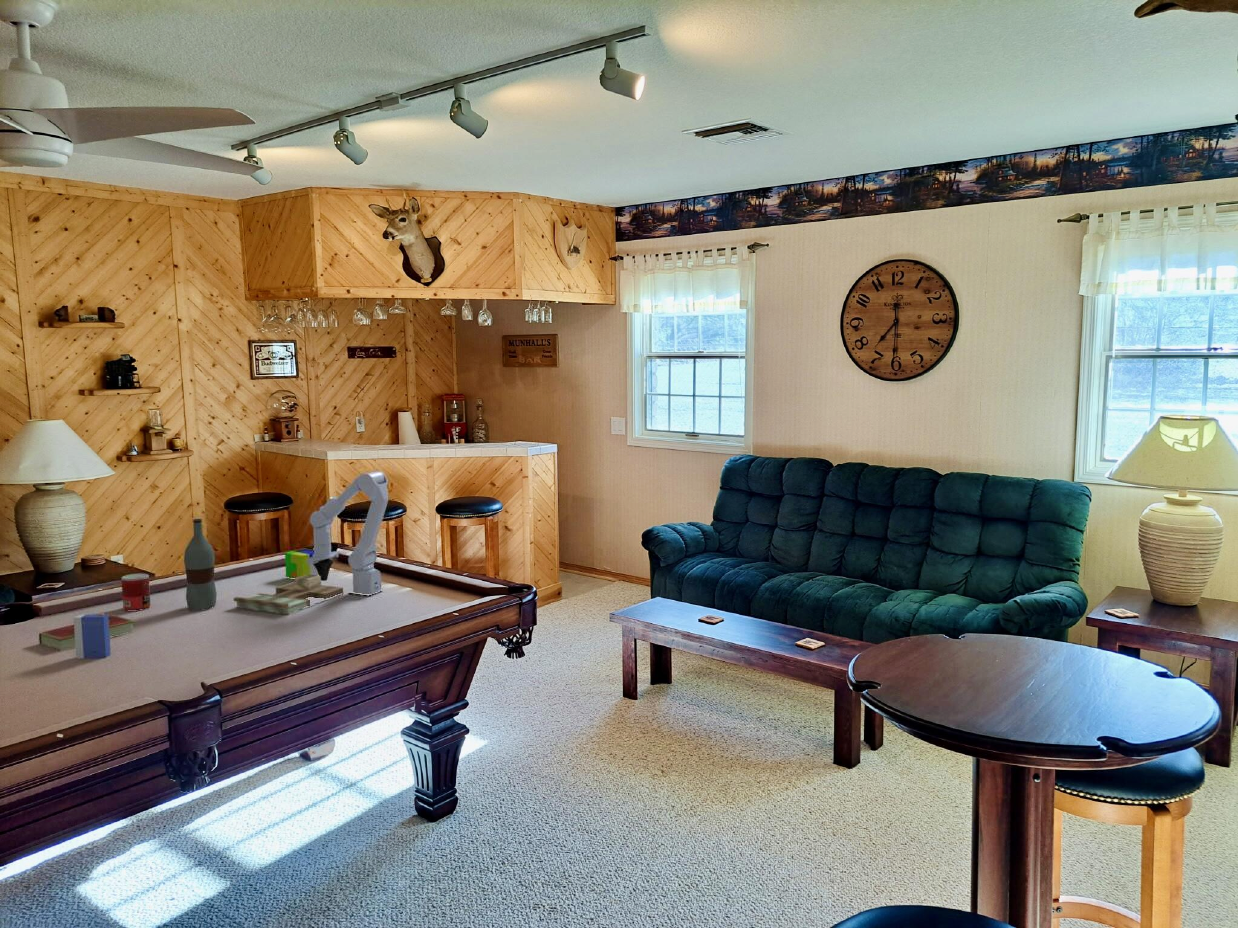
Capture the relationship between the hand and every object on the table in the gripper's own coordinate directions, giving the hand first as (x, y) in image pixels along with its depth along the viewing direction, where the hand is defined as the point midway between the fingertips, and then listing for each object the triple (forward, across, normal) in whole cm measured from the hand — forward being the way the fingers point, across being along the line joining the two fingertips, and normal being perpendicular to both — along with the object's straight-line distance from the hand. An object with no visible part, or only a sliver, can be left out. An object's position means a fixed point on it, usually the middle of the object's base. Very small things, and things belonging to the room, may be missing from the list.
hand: (323, 580), depth 308 cm
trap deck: (+3, +17, 0) cm, 17 cm away
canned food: (+4, +43, -41) cm, 60 cm away
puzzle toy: (+4, -12, -19) cm, 23 cm away
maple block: (+1, +8, 0) cm, 8 cm away
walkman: (+4, +82, -10) cm, 83 cm away
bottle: (+4, +34, -22) cm, 41 cm away
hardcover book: (+4, +71, -27) cm, 76 cm away
